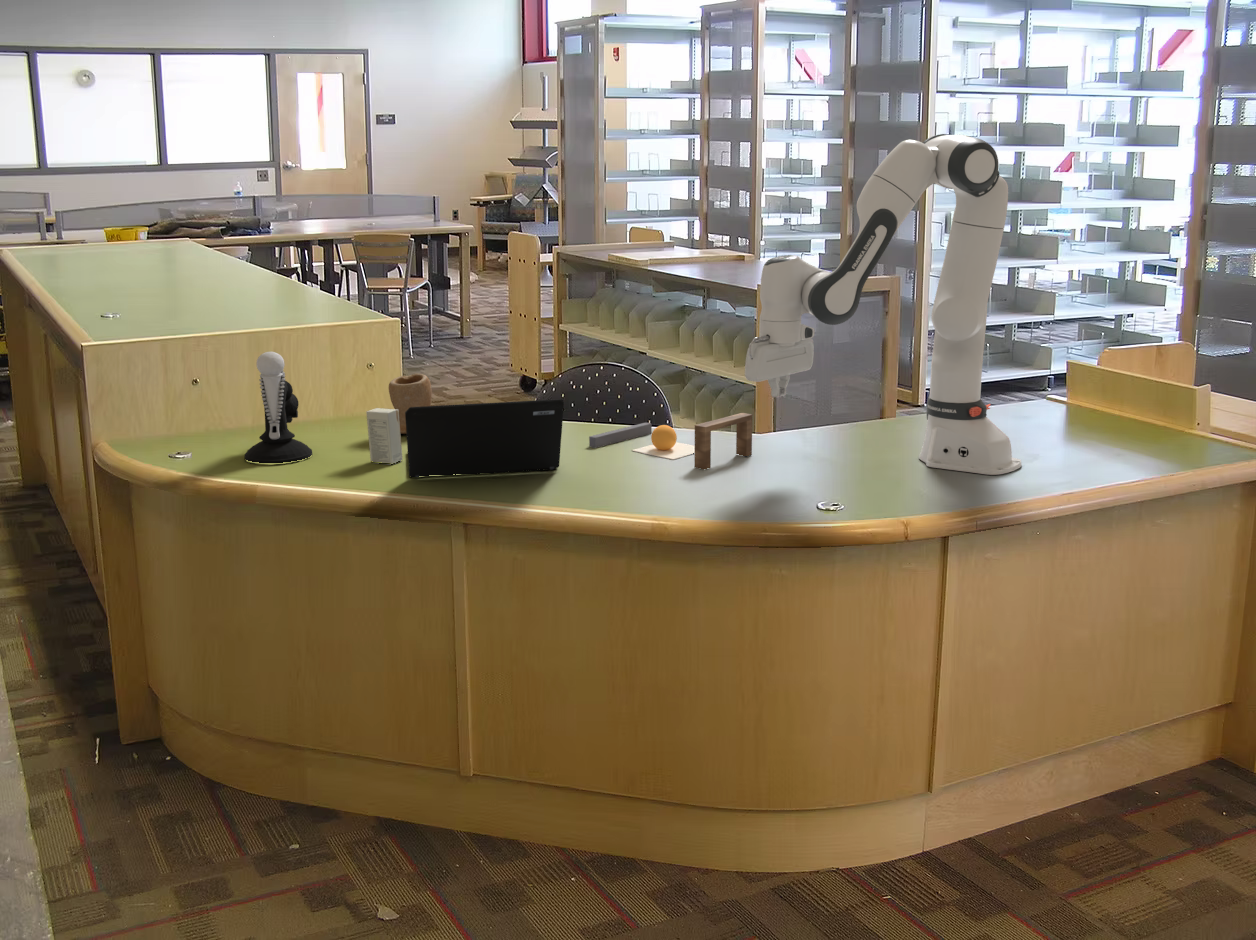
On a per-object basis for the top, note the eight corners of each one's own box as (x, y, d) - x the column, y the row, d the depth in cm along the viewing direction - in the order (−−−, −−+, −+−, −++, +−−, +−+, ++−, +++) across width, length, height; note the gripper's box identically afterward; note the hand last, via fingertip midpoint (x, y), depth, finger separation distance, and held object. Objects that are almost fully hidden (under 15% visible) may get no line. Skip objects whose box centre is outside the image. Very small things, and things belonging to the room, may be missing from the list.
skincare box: (403, 461, 290) (400, 409, 287) (392, 465, 286) (389, 412, 283) (380, 458, 293) (377, 406, 289) (368, 462, 289) (365, 410, 286)
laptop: (547, 447, 303) (545, 368, 298) (567, 489, 268) (565, 399, 263) (407, 454, 298) (403, 373, 293) (408, 497, 262) (403, 406, 257)
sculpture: (239, 466, 287) (229, 357, 280) (257, 442, 309) (249, 341, 303) (307, 464, 288) (299, 355, 282) (321, 440, 311) (313, 339, 304)
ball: (665, 449, 301) (683, 447, 297) (648, 453, 297) (667, 450, 293) (661, 425, 301) (679, 422, 297) (644, 428, 297) (662, 425, 293)
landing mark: (709, 449, 298) (709, 448, 298) (673, 459, 289) (673, 459, 289) (667, 441, 306) (667, 440, 306) (631, 450, 297) (631, 450, 297)
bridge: (751, 455, 292) (752, 414, 290) (704, 469, 280) (705, 427, 278) (741, 453, 294) (742, 412, 292) (694, 467, 282) (694, 425, 280)
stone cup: (384, 439, 312) (380, 379, 308) (396, 428, 323) (393, 370, 319) (444, 439, 310) (441, 379, 307) (454, 428, 322) (452, 370, 318)
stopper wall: (651, 433, 315) (651, 423, 314) (595, 447, 300) (595, 437, 300) (645, 432, 316) (645, 422, 315) (589, 446, 302) (589, 436, 301)
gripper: (762, 339, 260) (761, 405, 263) (819, 328, 274) (817, 391, 278) (738, 336, 264) (737, 401, 267) (795, 325, 278) (793, 387, 282)
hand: (778, 396), depth 273 cm, fingers closed
